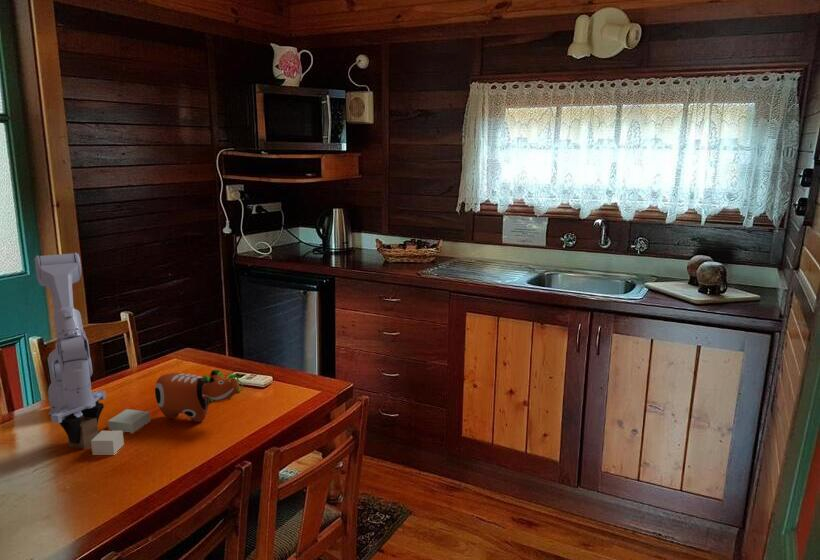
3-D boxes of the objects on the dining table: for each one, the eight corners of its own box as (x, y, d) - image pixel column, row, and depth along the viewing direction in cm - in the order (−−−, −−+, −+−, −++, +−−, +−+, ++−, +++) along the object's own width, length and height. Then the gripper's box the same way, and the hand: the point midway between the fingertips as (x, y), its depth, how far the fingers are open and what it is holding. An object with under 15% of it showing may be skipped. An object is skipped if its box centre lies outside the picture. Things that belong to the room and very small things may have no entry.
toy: (230, 435, 147) (226, 379, 143) (149, 425, 151) (144, 371, 148) (249, 417, 156) (246, 365, 153) (172, 409, 161) (168, 358, 158)
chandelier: (253, 392, 173) (252, 370, 172) (209, 409, 162) (207, 385, 160) (224, 379, 182) (222, 358, 181) (179, 394, 171) (178, 372, 169)
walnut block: (69, 446, 140) (66, 424, 139) (83, 438, 144) (81, 415, 143) (84, 449, 139) (81, 426, 138) (99, 440, 143) (96, 418, 142)
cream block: (92, 456, 136) (91, 440, 135) (103, 445, 141) (101, 430, 140) (114, 456, 136) (112, 440, 136) (124, 445, 141) (122, 430, 140)
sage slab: (109, 431, 149) (107, 420, 148) (127, 419, 155) (126, 409, 155) (133, 434, 147) (132, 423, 146) (150, 422, 154) (149, 411, 153)
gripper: (66, 399, 130) (73, 454, 133) (113, 376, 144) (119, 426, 147) (40, 396, 132) (48, 450, 135) (90, 373, 146) (95, 422, 149)
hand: (83, 437), depth 141 cm, fingers closed on walnut block, 4 cm apart
